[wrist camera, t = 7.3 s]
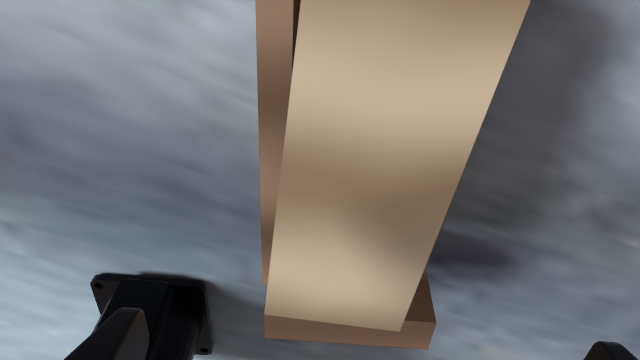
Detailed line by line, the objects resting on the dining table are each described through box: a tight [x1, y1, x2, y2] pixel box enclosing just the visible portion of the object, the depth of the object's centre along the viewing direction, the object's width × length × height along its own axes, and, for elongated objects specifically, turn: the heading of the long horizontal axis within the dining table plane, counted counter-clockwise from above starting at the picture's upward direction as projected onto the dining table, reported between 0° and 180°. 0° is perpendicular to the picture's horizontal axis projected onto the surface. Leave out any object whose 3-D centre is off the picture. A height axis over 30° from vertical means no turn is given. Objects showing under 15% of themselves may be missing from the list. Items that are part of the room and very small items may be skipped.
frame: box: [256, 0, 436, 349], centre depth 17 cm, size 19×8×6 cm, turn 177°
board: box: [264, 0, 531, 332], centre depth 15 cm, size 12×5×4 cm, turn 172°
